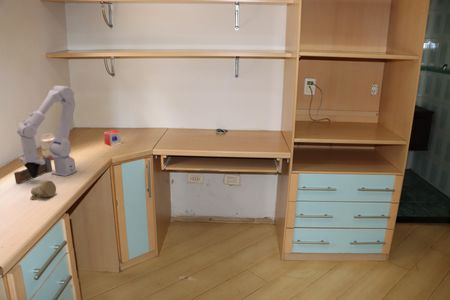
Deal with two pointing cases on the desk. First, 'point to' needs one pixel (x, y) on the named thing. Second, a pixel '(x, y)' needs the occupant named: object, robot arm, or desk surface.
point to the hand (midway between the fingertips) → (34, 176)
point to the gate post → (48, 163)
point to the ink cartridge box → (47, 144)
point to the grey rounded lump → (43, 190)
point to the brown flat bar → (28, 173)
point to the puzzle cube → (112, 138)
